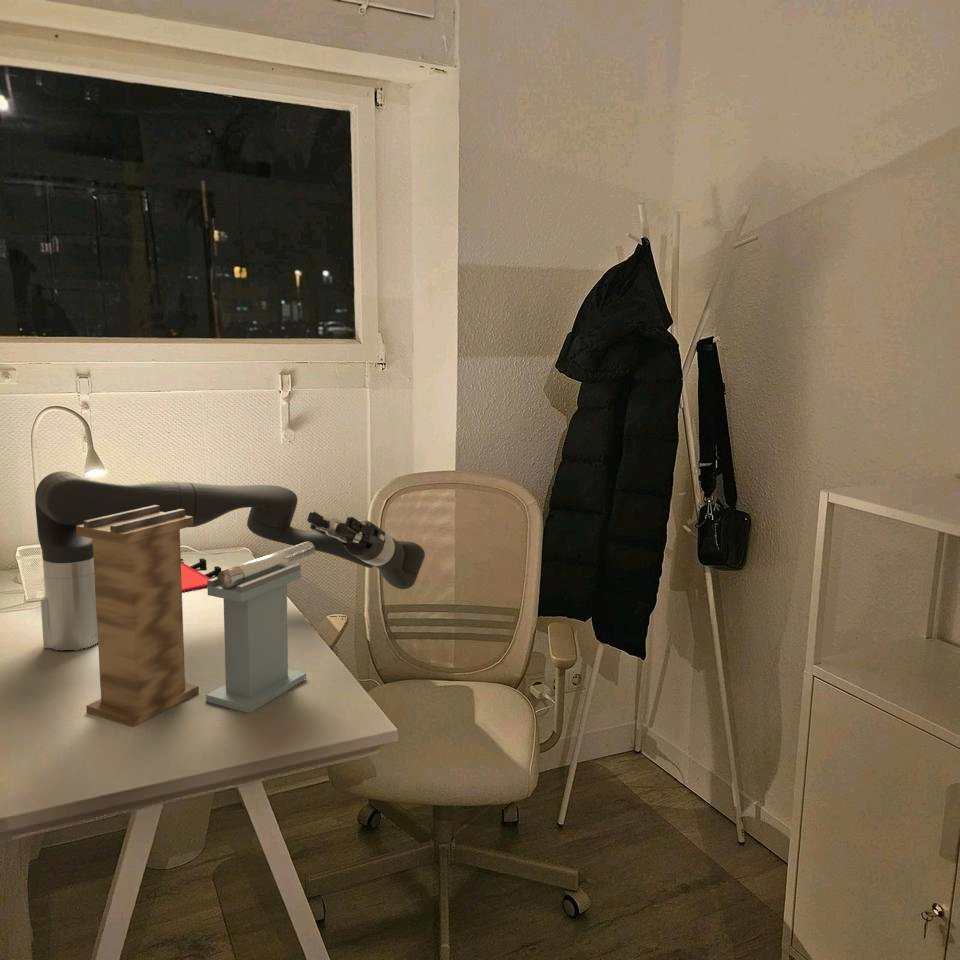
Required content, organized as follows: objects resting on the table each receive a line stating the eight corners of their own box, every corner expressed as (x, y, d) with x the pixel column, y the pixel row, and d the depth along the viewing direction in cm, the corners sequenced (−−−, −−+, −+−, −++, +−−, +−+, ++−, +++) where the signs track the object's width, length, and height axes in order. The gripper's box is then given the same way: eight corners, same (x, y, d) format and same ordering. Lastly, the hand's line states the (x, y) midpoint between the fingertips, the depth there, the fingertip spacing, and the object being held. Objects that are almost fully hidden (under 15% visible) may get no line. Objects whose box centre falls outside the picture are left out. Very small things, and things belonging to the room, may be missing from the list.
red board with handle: (181, 556, 222) (124, 567, 212) (180, 546, 221) (123, 556, 211) (233, 584, 201) (172, 598, 190) (232, 573, 200) (171, 586, 190)
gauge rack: (249, 713, 133) (246, 587, 129) (206, 701, 137) (202, 579, 133) (306, 679, 146) (305, 565, 143) (265, 669, 150) (263, 557, 146)
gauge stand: (132, 726, 127) (123, 527, 122) (86, 712, 132) (75, 519, 126) (198, 692, 140) (192, 510, 134) (154, 680, 144) (147, 503, 139)
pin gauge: (232, 590, 131) (231, 572, 130) (217, 587, 132) (217, 569, 132) (315, 558, 151) (315, 542, 150) (301, 556, 152) (301, 540, 151)
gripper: (345, 522, 173) (303, 496, 159) (404, 530, 168) (366, 503, 154) (335, 556, 171) (292, 532, 157) (394, 565, 165) (355, 542, 151)
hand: (328, 518), depth 155 cm, fingers open, 8 cm apart
